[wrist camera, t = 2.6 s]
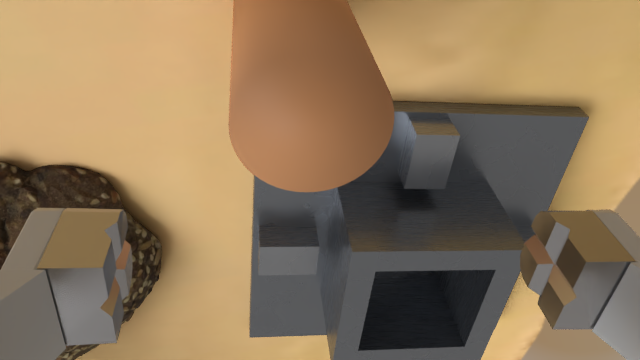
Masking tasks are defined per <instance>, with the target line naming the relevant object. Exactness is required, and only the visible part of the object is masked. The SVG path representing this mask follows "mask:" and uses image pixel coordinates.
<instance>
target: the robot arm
mask: <svg viewBox="0 0 640 360" xmlns="http://www.w3.org/2000/svg"><path fill="white" fill-rule="evenodd" d="M531 227H532V230H533V232H534V234H535V235H534V236H532V237H531V238H530V239H529V240H527V241H526V242H525V243H524V246H523V248H522V251H521V254H520V270H521V273H522V277H523V279H524V281H525V283H526V284H527V286H528V288H530V289H531V290H533V291H534V292H536V293H537V294H539V295H540V297H539V301H538V305H539V307H540V309H541V310H542V312H543V314H544V315H545V317H546V319H547V320H548V322H549V324H550V326H551V327H552V329H593V330H592V331H593V332H594V333H595V334H596V335H597V336H599V337H600V338H601V339H603V340H604V341H605V342H606V343H607V344H608V345H610V346H611V347H612V348H613V349H615V350H616V351H617V352H618V353H619V354H621V355H622V356H623V357H624V358H626V359H627V360H640V237H639V236H638V235H637V234H636V233H635V232H634V231H633V229H632V228H631V227H630V226H629V225H628V224H627V223H626V222H625V221H624V220H623V219H622V218H621V216H620V215H619V214H618V213H616V212H614V211H612V210H586V211H540V212H539V213H538V214H537V215H536V216H535V218H534V221H533V223H532V225H531ZM127 230H128V223H127V217H126V213H125V211H124V210H123V209H87V208H66V209H65V208H37V209H35V210H33V211H32V212H31V213H30V215H29V217H28V219H27V221H26V223H25V225H24V227H23V228H22V230H21V232H20V234H19V236H18V238H17V240H16V242H15V243H14V245H13V247H12V249H11V251H10V253H9V255H8V257H7V258H6V260H5V262H4V264H3V266H2V268H1V270H0V360H55V359H56V358H57V357H58V356H59V355H60V354H61V353H62V352H63V351H64V350H65V349H66V346H69V345H86V344H104V343H117V340H118V336H119V332H120V328H121V324H122V320H123V315H124V310H123V304H122V300H123V299H124V298H125V297H126V296H128V295H129V290H130V286H131V279H132V268H133V265H132V250H131V245H130V244H129V243H128V242H127V241H126V240H125V237H126V233H127Z"/></svg>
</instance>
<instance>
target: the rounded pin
mask: <svg viewBox="0 0 640 360" xmlns="http://www.w3.org/2000/svg"><path fill="white" fill-rule="evenodd" d="M393 126H394V106H393V101H392V98H391V95H390V92H389V90H388V87H387V85H386V83H385V81H384V79H383V77H382V75H381V72H380V70H379V68H378V66H377V64H376V62H375V60H374V57H373V55H372V53H371V51H370V49H369V47H368V45H367V43H366V40H365V38H364V36H363V34H362V32H361V30H360V28H359V25H358V23H357V21H356V19H355V17H354V15H353V13H352V10H351V8H350V6H349V4H348V2H347V0H234V8H233V32H232V56H231V80H230V104H229V135H230V139H231V143H232V146H233V148H234V151H235V153H236V154H237V156H238V158H239V159H240V161H241V162H242V163H243V165H244V166H245V167H246V168H247V169H248V170H249V171H250V172H251V173H252V174H253V175H255V176H256V177H258V178H259V179H260V180H262V181H264V182H266V183H268V184H270V185H272V186H275V187H277V188H281V189H284V190H289V191H295V192H319V191H325V190H329V189H333V188H337V187H339V186H342V185H345V184H347V183H349V182H351V181H353V180H355V179H356V178H358V177H359V176H361V175H362V174H364V173H365V172H366V171H367V170H369V169H370V168H371V167H372V166H373V165H374V164H375V163H376V162H377V160H378V159H379V158H380V156H381V155H382V154H383V152H384V150H385V149H386V147H387V145H388V143H389V140H390V138H391V135H392V131H393Z"/></svg>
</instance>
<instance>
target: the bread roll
mask: <svg viewBox="0 0 640 360" xmlns="http://www.w3.org/2000/svg"><path fill="white" fill-rule="evenodd" d="M37 208H65V209H66V208H87V209H123V210H124V211H125V213H126V217H127V223H128V230H127V233H126V237H125V240H126V241H127V242H128V243H129V244H130V245H131V250H132V265H133V268H132V279H131V286H130V290H129V295H128V296H126V297H125V298H124V299H123V300H122V304H123V310H124V315H123V320H122V323H124V322H125V321H129V319H130V318H131V317H132V315H133V313H134V312H133V311H134V310H135V309H136V308H138V307H139V306H140V305H141V303H142V302H143V301H144V299H145V298H146V296H147V295H148V294H149V293H150V292H151V291H152V288H153V285H154V284H155V282H156V281H158V279H159V273H160V268H161V244H160V242H159V241H158V239H157V238H156V237H155V236H154V235H153V234H152V233H151V232H149V231H148V230H147V229H146V228H144V227H143V226H142V225H141V224H139V223H138V222H136V221H134V219H133V218H132V216H131V215H130V214H129V213H128V212H127V211H126V210H125V209H124V208H123V205H122V202H121V199H120V196H119V194H118V193H117V192H116V190H115V189H114V188H113V187H112V186H111V184H110V183H109V182H108V181H107V180H106V179H105V178H103V177H102V176H101V175H100V174H99V173H95V172H93V171H91V170H88V169H84V168H78V167H72V166H65V165H49V166H42V167H39V168H36V169H34V170H32V171H24V170H22V169H19V168H17V167H15V166H13V165H10V164H7V163H4V162H0V270H1V268H2V266H3V264H4V262H5V260H6V258H7V257H8V255H9V253H10V251H11V249H12V247H13V245H14V243H15V242H16V240H17V238H18V236H19V234H20V232H21V230H22V228H23V227H24V225H25V223H26V221H27V219H28V217H29V215H30V213H31V212H32V211H33V210H35V209H37ZM98 345H99V344H86V345H69V346H66V349H65V350H64V351H63V352H62V353H61V354H60V355H59V356H58V357H57V358H56V359H55V360H75V359H76V358H77V357H79V356H82V355H83V354H85V353H87V352H88V351H90V350H91V349H93V348H95V347H97V346H98Z"/></svg>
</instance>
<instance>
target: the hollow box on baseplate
mask: <svg viewBox="0 0 640 360" xmlns="http://www.w3.org/2000/svg"><path fill="white" fill-rule="evenodd" d="M393 106H394V126H393V131H392V135H391V138H390V140H389V143H388V145H387V147H386V149H385V150H384V152H383V154H382V155H381V156H380V158H379V159H378V160H377V162H376V163H375V164H374V165H373V166H372V167H371V168H370V169H369V170H367V171H366V172H365V173H364V174H362V175H361V176H359V177H358V178H356V179H355V180H353V181H351V182H349V183H347V184H345V185H342V186H339V187H337V188H333V189H329V190H325V191H319V192H295V191H289V190H284V189H281V188H277V187H275V186H272V185H270V184H268V183H266V182H264V181H262V180H260V179H259V178H258V177H256V176H255V175H254V193H253V226H252V259H251V292H250V337H277V336H307V335H327V339H328V346H329V352H330V359H331V360H481V357H482V355H483V353H484V351H485V348H486V346H487V344H488V342H489V339H490V337H491V335H492V333H493V330H494V329H495V327H496V325H497V323H498V320H499V318H500V316H501V314H502V311H503V309H504V307H505V305H506V302H507V300H508V298H509V296H510V293H511V291H512V289H513V287H514V284H515V282H516V280H517V278H518V276H519V273H520V271H521V270H520V254H521V251H522V248H523V246H524V243H525V242H526V241H527V240H529V239H530V238H531V237H532V236H534V235H535V234H534V232H533V230H532V227H531V225H532V223H533V221H534V218H535V216H536V215H537V214H538V213H539V212H540V211H547V210H548V208H549V206H550V204H551V202H552V199H553V197H554V195H555V193H556V190H557V188H558V186H559V184H560V181H561V179H562V177H563V175H564V172H565V170H566V168H567V166H568V163H569V161H570V159H571V157H572V154H573V152H574V150H575V148H576V145H577V143H578V141H579V139H580V136H581V134H582V132H583V130H584V127H585V125H586V123H587V121H588V119H589V117H588V116H587V115H586V114H585V113H584V112H583V111H582V110H581V109H580V108H579V107H557V106H527V105H496V104H465V103H435V102H404V101H393Z"/></svg>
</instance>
